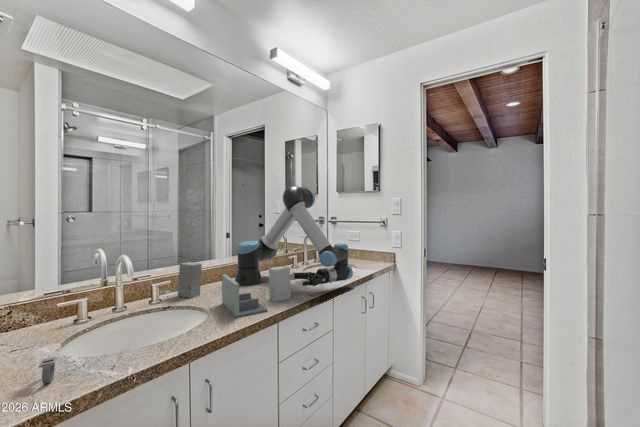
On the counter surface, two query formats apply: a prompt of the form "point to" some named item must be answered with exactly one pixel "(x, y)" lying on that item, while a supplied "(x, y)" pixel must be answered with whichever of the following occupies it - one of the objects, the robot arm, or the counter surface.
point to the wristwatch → (48, 369)
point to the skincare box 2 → (279, 283)
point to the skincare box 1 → (189, 279)
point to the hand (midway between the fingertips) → (288, 281)
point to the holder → (238, 299)
